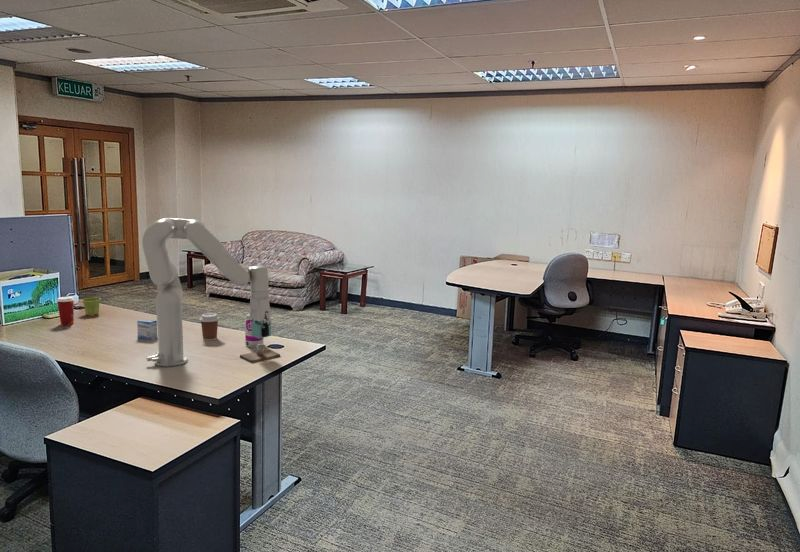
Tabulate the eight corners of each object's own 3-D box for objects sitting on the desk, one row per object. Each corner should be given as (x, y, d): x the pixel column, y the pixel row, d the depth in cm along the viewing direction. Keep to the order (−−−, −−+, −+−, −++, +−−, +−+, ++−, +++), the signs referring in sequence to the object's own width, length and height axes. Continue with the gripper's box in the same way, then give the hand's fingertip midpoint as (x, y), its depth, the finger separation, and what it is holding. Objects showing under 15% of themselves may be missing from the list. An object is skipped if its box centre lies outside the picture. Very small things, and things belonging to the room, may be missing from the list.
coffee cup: (203, 342, 255) (202, 317, 253) (197, 337, 262) (196, 314, 260) (222, 339, 260) (221, 315, 258) (216, 335, 268) (215, 311, 266)
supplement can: (258, 348, 248) (258, 317, 246) (242, 347, 250) (241, 315, 247) (266, 343, 256) (266, 313, 254) (250, 342, 258) (250, 311, 255)
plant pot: (102, 315, 300) (101, 300, 298) (82, 317, 295) (81, 301, 294) (101, 311, 308) (100, 297, 306) (82, 313, 303) (81, 298, 302)
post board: (251, 362, 228) (251, 350, 227) (240, 357, 235) (239, 345, 234) (280, 356, 238) (280, 344, 237) (268, 351, 245) (268, 339, 244)
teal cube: (258, 338, 231) (258, 325, 230) (251, 335, 235) (251, 322, 234) (271, 335, 235) (270, 322, 234) (263, 333, 239) (263, 320, 238)
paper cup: (78, 323, 281) (77, 297, 279) (63, 326, 275) (61, 299, 272) (70, 321, 285) (69, 295, 283) (55, 324, 279) (53, 297, 276)
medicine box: (137, 338, 258) (136, 320, 257) (143, 336, 263) (143, 318, 261) (151, 339, 257) (150, 322, 255) (157, 337, 261) (157, 320, 260)
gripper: (241, 292, 235) (243, 332, 238) (262, 298, 223) (264, 340, 226) (257, 290, 240) (258, 329, 243) (278, 296, 228) (279, 337, 231)
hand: (261, 334), depth 235 cm, fingers closed on teal cube, 6 cm apart
